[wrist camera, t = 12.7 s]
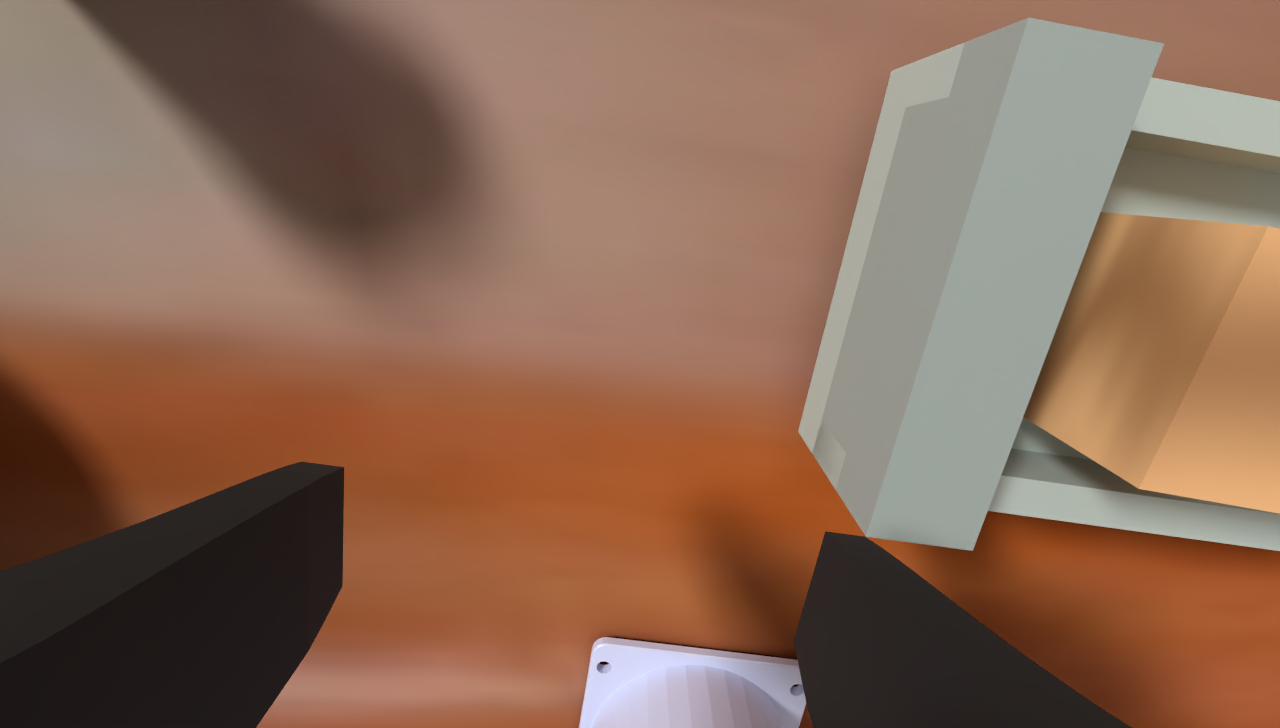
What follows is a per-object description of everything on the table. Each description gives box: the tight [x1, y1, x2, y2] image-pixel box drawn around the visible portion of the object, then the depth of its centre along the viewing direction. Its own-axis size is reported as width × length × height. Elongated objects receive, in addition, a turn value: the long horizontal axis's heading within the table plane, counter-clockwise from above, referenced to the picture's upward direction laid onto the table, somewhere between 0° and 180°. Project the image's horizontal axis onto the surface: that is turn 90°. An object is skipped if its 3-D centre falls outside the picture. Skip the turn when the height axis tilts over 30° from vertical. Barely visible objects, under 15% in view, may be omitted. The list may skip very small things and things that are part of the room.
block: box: [1023, 212, 1280, 514], centre depth 13 cm, size 5×5×5 cm
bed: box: [798, 18, 1280, 551], centre depth 15 cm, size 10×14×6 cm
